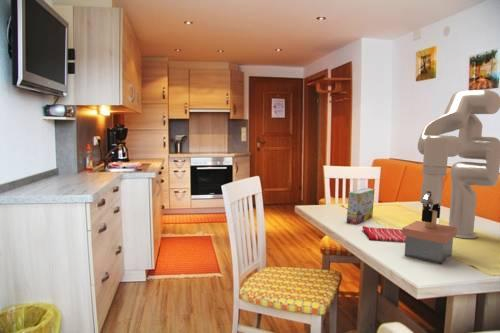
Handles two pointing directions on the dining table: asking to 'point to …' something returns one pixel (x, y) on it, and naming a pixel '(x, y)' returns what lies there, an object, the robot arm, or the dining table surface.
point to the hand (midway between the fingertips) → (430, 219)
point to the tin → (428, 250)
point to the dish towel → (384, 234)
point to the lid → (430, 230)
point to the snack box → (360, 205)
